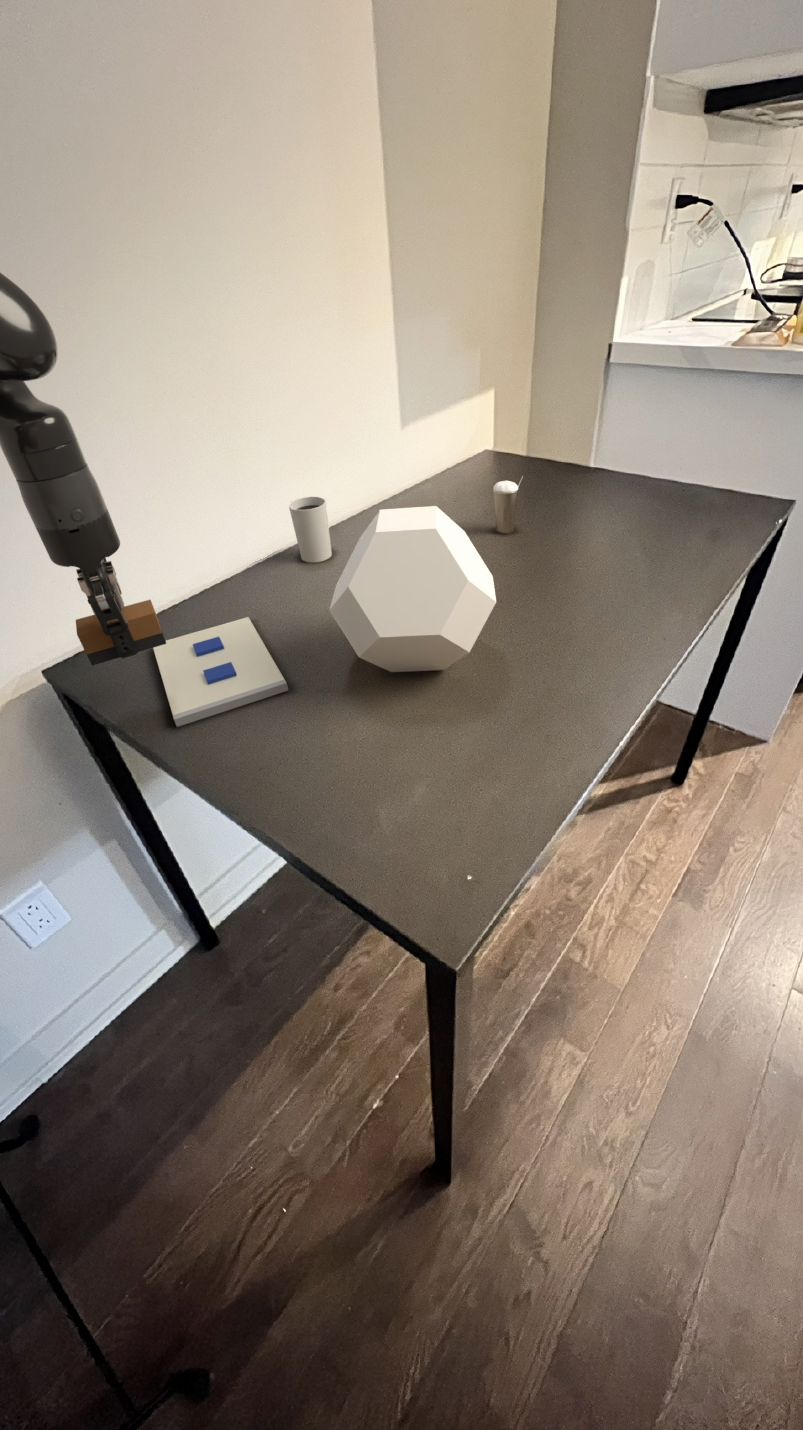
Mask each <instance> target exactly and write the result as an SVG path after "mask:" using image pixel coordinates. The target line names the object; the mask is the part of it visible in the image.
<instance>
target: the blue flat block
mask: <svg viewBox="0 0 803 1430" xmlns="http://www.w3.org/2000/svg"><path fill="white" fill-rule="evenodd" d="M193 647H194V650H195V652H196V655H197V657H198V656H202V655H205V654H208V653H212V652H215V651H218V650H222V649H224V646H223V644H222V641H221V639H220V637H215V638H212V639H208V640H205V641H202V642H198V643H195V644H193Z"/></svg>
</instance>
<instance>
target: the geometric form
mask: <svg viewBox="0 0 803 1430" xmlns="http://www.w3.org/2000/svg"><path fill="white" fill-rule="evenodd" d="M496 596H497V595H496V590H495V583H494V576H493V574H492V573H491V571H490V570H489V568H488V566H487V564H486V563H485V562H484V560H483V558H482V556H481V555H480V553H479V552H478V551H477V549H476V547H475V546H474V544H473V542H472V541H471V539H470V537H469V536H468V535H467V533H466V531H465V530H464V529H463V528H462V527H461V526H459V525H458V524H457V523H456V522H455V521H454V520H453V519H451V517H449V516H448V515H447V514H446V513H445V512H443V510H441V509H440V508H439V507H438V506H437V505H430V506H416V507H415V506H414V507H399V508H398V507H397V508H385V509H383V508H381V509H379V510H378V512H377V513H376V514H375V516H374V517H373V519H372V520H371V522H370V523H369V524H368V526H367V527H366V528H365V530H364V531H363V533H362V534H361V535H360V536H359V538H358V541H357V543H356V544H355V547H354V549H353V550H352V552H351V555H350V556H349V559H348V561H347V563H346V565H345V567H344V569H343V571H342V572H341V575H340V577H339V578H338V580H337V583H336V585H335V589H334V592H333V596H332V599H331V603H330V606H329V609H328V610H329V612H330V614H331V616H332V617H333V619H334V621H335V622H336V623H337V625H338V627H339V628H340V630H341V632H342V633H343V635H344V636H345V638H346V639H347V642H348V643H349V644H350V646H351V648H352V649H353V651H354V653H355V654H356V656H357V657H358V658H360V659H362V660H364V661H366V662H368V663H370V664H373V665H375V666H377V667H379V668H381V669H384V670H386V671H388V672H390V673H404V672H405V673H407V672H429V671H444V670H445V669H447V668H448V667H450V666H452V665H454V663H456V662H457V661H459V660H460V659H462V658H464V657H465V656H467V655H468V654H470V653H471V651H472V649H473V647H474V645H475V643H476V641H477V639H478V638H479V636H480V634H481V632H482V630H483V628H484V626H485V625H486V622H487V621H488V619H489V617H490V616H491V613H492V611H493V610H494V607H495V606H496V604H497V597H496Z"/></svg>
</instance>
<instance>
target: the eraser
mask: <svg viewBox="0 0 803 1430" xmlns="http://www.w3.org/2000/svg"><path fill="white" fill-rule="evenodd" d="M122 611H123V614H124V616H125V619H126V621H128V624H129V625H128V627H129V631H130V633H131V635H132V638H133V640H134V642H135V645H136V647H137V651H138V652H137V653H139V652H144V651H147V650H150V649H153V648H154V647H157V646H161V645H164V644H166V638H165V634H164V631H163V628H162V626H161V623H160V621H159V617H158V615H157V613H156V610H155V607H154V604H153V602H152V600H151V599H147V600H144V601H140V602H136V603H132V604H127V605H124V608H123V609H122ZM116 620H118V619H114V620H111V621H108V623H109V622H112V621H116ZM75 629H76V636H77V638H78V640H79V642H80V645H81V646H82V649H83V650H84V653H85V654H86V656H87V659H88V661H89V662H90V665H91V666H96V665H98V664H102V663H105V662H109V661H113V660H115V659H116V660H117V659H119V658H121V657H119V655H118V653H117V650H116V648H115V646H114V644H113V641H112V639H111V637H110V635H109V636H106V634H104V632H103V628H102V626H101V624H100V622H99V620H98V618H97V616H96V615H95V614H91V615H86V616H84V617H81V618H76V619H75Z"/></svg>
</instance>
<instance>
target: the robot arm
mask: <svg viewBox="0 0 803 1430" xmlns="http://www.w3.org/2000/svg"><path fill="white" fill-rule="evenodd" d="M58 357H59V348H58V342H57V338H56V334H55V332H54V330H53V327H52V325H51V324H50V321H49V320H48V318H47V316H46V315H45V314H44V312H43V311H42V309H41V308H40V306H39V305H38V304H37V303H36V302H35V301H34V300H33V299H32V298H31V297H30V296H29V294H27V293H26V292H25V290H23V289H22V288H21V287H20V286H18V285H17V284H16V283H15V282H14V281H12V280H11V279H10V278H9V277H7V276H6V275H5V274H3V273H2V272H0V448H1V451H2V453H3V455H4V458H5V460H6V461H7V464H8V466H9V468H10V470H11V472H12V475H13V477H14V478H15V481H16V483H17V486H18V489H19V491H20V495H21V499H22V502H23V504H24V506H25V508H26V510H27V513H28V514H29V517H30V519H31V521H32V523H33V525H34V527H35V530H36V532H37V533H38V536H39V538H40V540H41V542H42V544H43V546H44V549H45V550H46V553H47V555H48V557H49V559H50V561H51V562H52V563H53V564H55V565H57V566H59V567H65V568H70V567H74V568H75V571H76V574H77V578H76V580H77V583H78V585H79V587H80V590H81V592H82V593H84V594H85V596H86V598H87V603H88V605H89V606H90V607H91V611H92V613H93V615H96V616H97V618H98V620H99V622H100V624H101V626H102V628H103V632H104V634H106V636H109V635H110V637H111V639H112V641H113V644H114V646H115V648H116V650H117V653H118V655H119V657H120V658H121V659H125V658H130V657H133V656H135V655H138V653H139V652H138V651H137V647H136V645H135V642H134V640H133V638H132V635H131V633H130V631H129V627H128V625H129V624H128V621H126V619H125V616H124V614H123V611H122V609H123V608H124V606H125V602H124V599H123V596H122V595H123V593H122V590H121V586H120V584H119V581H118V578H117V573H116V572H117V571H116V569H115V567H114V564H113V562H112V560H109V561H108V560H107V558H109V557H111V556H112V555H114V554H116V552H118V550H119V549H120V546H121V540H120V537H119V535H118V532H117V530H116V527H115V525H114V522H113V520H112V517H111V515H110V512H109V509H108V507H107V504H106V502H105V499H104V496H103V493H102V492H101V488H100V486H99V484H98V482H97V480H96V478H95V476H94V475H93V473H92V471H91V469H90V467H89V465H88V463H87V460H86V458H85V457H86V456H85V455H84V452H83V449H82V447H81V445H80V442H79V439H78V437H77V434H76V432H75V430H74V427H73V425H72V422H71V421H70V419H69V417H68V415H67V414H66V413H65V411H64V410H62V409H61V408H60V407H58V406H55V405H53V404H51V403H47V402H44V401H43V400H41V399H39V398H38V397H37V396H35V394H34V393H33V392H32V390H31V389H30V387H29V386H28V385H27V383H26V382H30V381H31V382H32V381H36V380H37V381H38V380H41V379H42V378H45V377H47V376H48V375H49V374H50V373H51V372H52V371H53V370H54V368H55V366H56V364H57V362H58ZM114 619H118V620H116V621H112V622H109V623H108V621H111V620H114Z"/></svg>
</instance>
